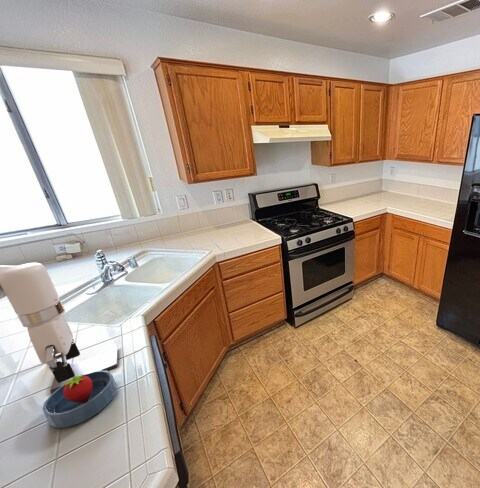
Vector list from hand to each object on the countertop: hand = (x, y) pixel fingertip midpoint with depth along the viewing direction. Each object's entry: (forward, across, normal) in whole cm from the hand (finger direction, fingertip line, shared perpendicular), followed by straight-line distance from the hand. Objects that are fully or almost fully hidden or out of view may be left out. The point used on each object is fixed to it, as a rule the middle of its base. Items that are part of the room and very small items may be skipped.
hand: (70, 367), depth 70 cm
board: (+13, -17, -1) cm, 21 cm away
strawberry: (+12, 0, 0) cm, 13 cm away
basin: (+13, 0, 0) cm, 13 cm away
